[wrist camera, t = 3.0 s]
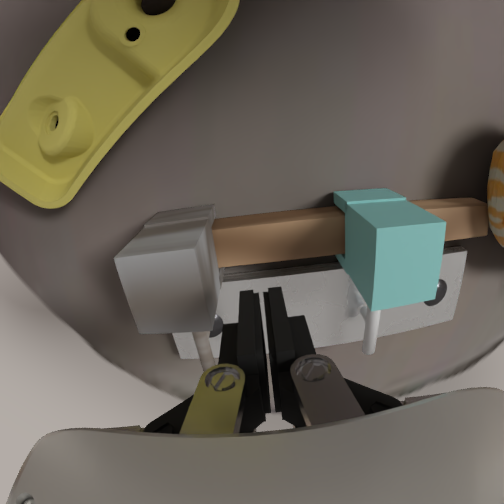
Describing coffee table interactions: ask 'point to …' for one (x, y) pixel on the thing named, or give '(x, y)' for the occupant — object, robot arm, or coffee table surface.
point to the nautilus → (496, 194)
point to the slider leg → (389, 252)
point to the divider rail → (238, 257)
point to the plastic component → (96, 89)
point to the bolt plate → (330, 303)
